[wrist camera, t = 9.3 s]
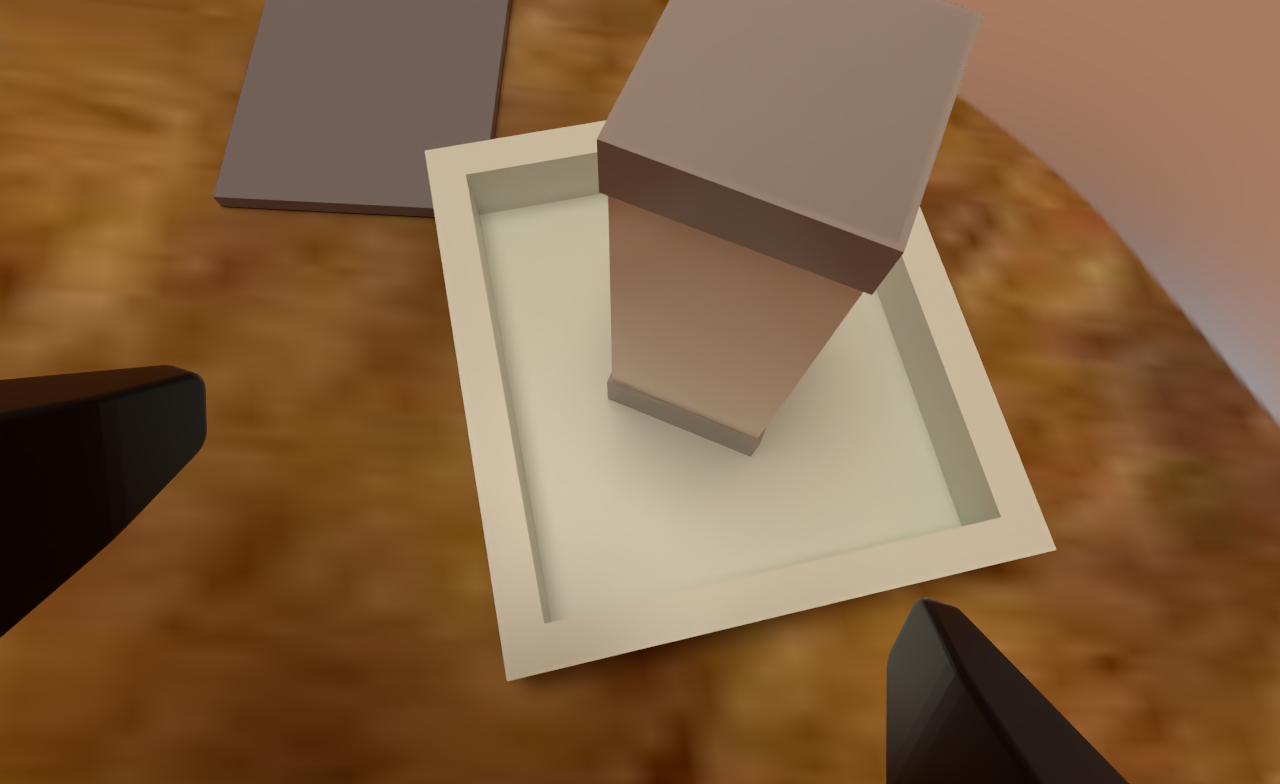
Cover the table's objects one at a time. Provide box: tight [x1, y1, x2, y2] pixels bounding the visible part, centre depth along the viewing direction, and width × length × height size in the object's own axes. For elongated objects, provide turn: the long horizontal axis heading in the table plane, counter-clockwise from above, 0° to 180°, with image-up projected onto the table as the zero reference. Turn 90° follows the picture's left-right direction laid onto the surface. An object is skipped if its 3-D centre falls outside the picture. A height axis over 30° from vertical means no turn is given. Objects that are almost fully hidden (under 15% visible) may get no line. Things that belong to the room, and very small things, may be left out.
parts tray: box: [425, 121, 1056, 681], centre depth 20 cm, size 14×13×2 cm
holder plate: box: [213, 0, 512, 217], centre depth 23 cm, size 10×8×1 cm
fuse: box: [597, 0, 984, 457], centre depth 15 cm, size 4×4×11 cm
